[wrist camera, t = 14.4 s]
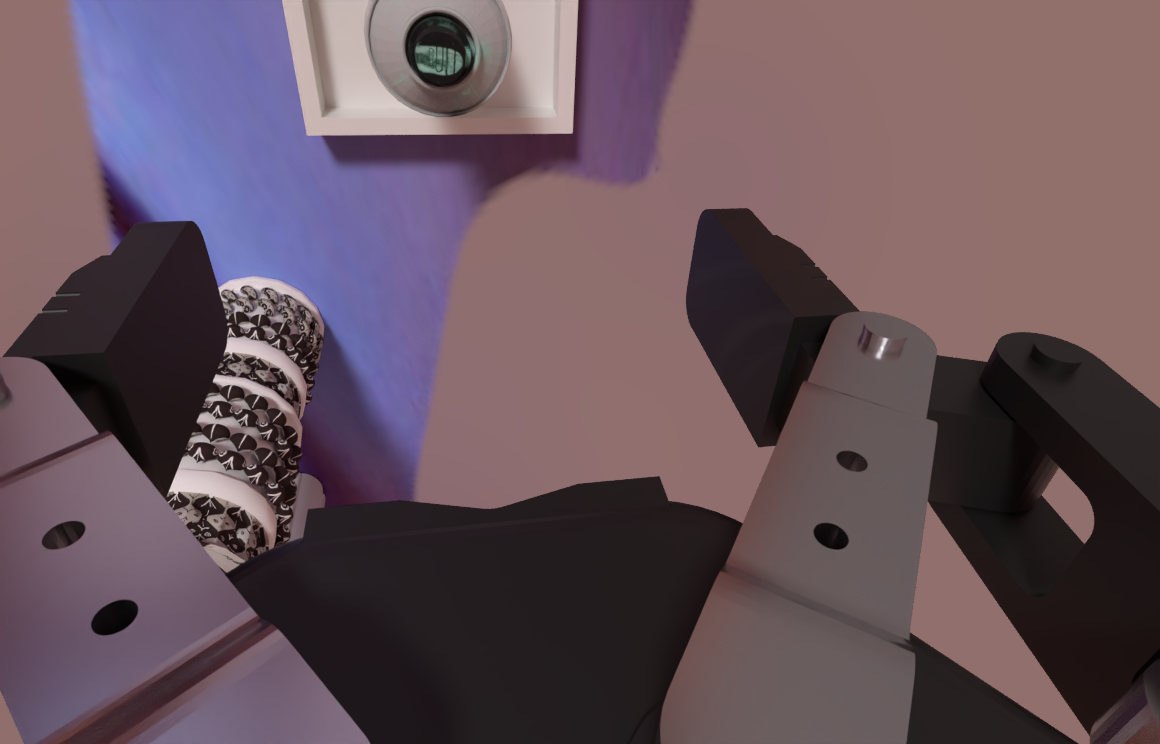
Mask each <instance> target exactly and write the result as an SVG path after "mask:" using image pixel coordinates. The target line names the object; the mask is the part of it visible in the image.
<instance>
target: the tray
mask: <svg viewBox="0 0 1160 744" xmlns="http://www.w3.org/2000/svg"><path fill="white" fill-rule="evenodd" d="M368 1H369V0H282V2H283V8H284V13H285V19H286V24H287V29H288V35H289V40H290V46H291V51H292V57H293V62H294V68H295V73H296V78H297V84H298V89H299V95H300V100H301V106H302V111H303V116H304V122H305V127H306V133H307V136H312V135H448V134H573V114H574V90H575V66H576V42H577V18H578V0H502V2H503V4H504V6H505V9H506V12H507V14H508V17H509V21H510V26H511V32H512V51H511V58H510V63H509V68H508V71H507V73H506V76H505V78H504V81H503V82H502V84H501V86H500V87H499V89H498V90H497V92H496V93H495V94H494V95H493V96H492V97H491V98H490V99H489V100H488V101H487V102H486V103H485V104H483V105H482V106H480V107H479V108H477V109H476V110H474V111H471V112H469V113H466V114H464V115H459V116H454V117H435V116H430V115H425V114H422V113H420V112H417V111H415V110H412V109H410V108H409V107H407V106H406V105H404V104H402V103H401V102H399V101H398V100H397V99H396V98H395V97H394V96H393V95H392V94H391V93H389V92H388V90H387V89H386V88H385V87H384V85H383V84H382V83H381V81H380V80H379V78H378V76H377V74H376V73H375V71H374V69H373V67H372V64H371V62H370V59H369V55H368V52H367V49H366V45H365V36H364V21H365V12H366V9H367V5H368Z"/></svg>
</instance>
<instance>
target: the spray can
mask: <svg viewBox="0 0 1160 744" xmlns="http://www.w3.org/2000/svg"><path fill="white" fill-rule="evenodd" d="M364 36H365V45H366V49H367V52H368V55H369V59H370V62H371V64H372V67H373V69H374V71H375V73H376V74H377V76H378V78H379V80H380V81H381V83H382V84H383V85H384V87H385V88H386V89H387V90H388V92H389V93H391V94H392V95H393V96H394V97H395V98H396V99H397V100H398V101H399V102H401V103H402V104H404V105H406V106H407V107H409V108H410V109H412V110H415V111H417V112H420V113H422V114H425V115H430V116H435V117H454V116H459V115H464V114H466V113H469V112H471V111H474V110H476V109H477V108H479V107H480V106H482V105H483V104H485V103H486V102H487V101H488V100H489V99H490V98H491V97H492V96H493V95H494V94H495V93H496V92H497V90H498V89H499V87H500V86H501V84H502V82H503V81H504V78H505V76H506V73H507V71H508V68H509V63H510V58H511V51H512V32H511V26H510V21H509V17H508V14H507V12H506V9H505V6H504V4H503V2H502V0H369V1H368V5H367V9H366V12H365V21H364Z"/></svg>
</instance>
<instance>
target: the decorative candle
mask: <svg viewBox="0 0 1160 744" xmlns="http://www.w3.org/2000/svg"><path fill="white" fill-rule="evenodd" d="M218 289H219V292H220V296H221V299H222V302H223V306H224V309H225V313H226V318H227V328H228V339H227V346H226V350H225V352H224V355H223V357H222V360H221V362H220V365H219V367H218V370H217V372H216V375H215V377H214V380H213V382H212V385H211V387H210V390H209V392H208V395H207V397H206V400H205V402H204V405H203V407H202V410H201V412H200V415H199V417H198V420H197V422H196V425H195V427H194V430H193V432H192V435H191V437H190V440H189V442H188V445H187V447H186V450H185V452H184V455H183V457H182V460H181V462H180V465H179V467H178V470H177V472H176V475H175V477H174V480H173V482H172V485H171V487H170V490H169V492H168V495H167V497H163V498H164V499H165V500H166V501H167V503H168V504H169V505H170V506H171V508H172V509H173V510H174V511H175V513H176V514H177V515H178V516H179V518H180V519H181V520H182V521H183V523H184V524H185V525H186V526H187V528H188V529H189V530H190V531H191V533H192V534H193V535H194V536H195V538H196V539H197V540H198V541H199V543H200V544H201V545H202V547H203V548H204V549H205V550H206V552H207V553H208V554H209V555H210V557H211V558H212V559H213V560H214V562H215V563H216V564H217V565H218V567H219V568H220V569H221V570H222V572H223V573H224V574H226V573H227V572H229V571H230V570H232V569H234V568H235V567H237V566H239V565H240V564H242V563H244V562H245V561H247V560H249V559H251V558H253V557H255V556H257V555H259V554H261V553H263V552H265V551H267V550H269V549H272V548H274V547H277V546H279V545H282V544H284V543H286V542H288V541H289V539H290V537H291V533H290V530H289V528H288V527H287V526H286V525H288V524H289V523H290V522H291V521H292V519H293V510H292V509H291V508H290V506H292V505H293V504H294V502H295V500H296V491H297V485H296V483H295V482H294V481H293V480H294V479H295V478H297V476H298V474H299V465H298V462H299V461H300V460H301V457H302V450H301V438H302V425H301V423H300V421H299V420H300V419H301V418H302V416H303V412H304V408H305V405H307V404H308V403H309V402H310V401H311V400H312V394H311V393H310V392H309V391H310V390H311V389H312V388H313V387H314V385H315V381H314V378H313V376H315V375H316V373H317V372H318V369H319V364H318V361H319V360H320V358H321V348H322V346H323V335H324V323H323V320H322V318H321V315H320V313H319V310H318V308H317V306H316V305H315V304H314V303H313V302H312V301H311V300H310V299H309V298H308V297H307V296H306V295H305V294H304V293H303V292H302V291H301V290H299V289H297V288H295V287H293V286H291V285H289V284H287V283H285V282H283V281H281V280H277V279H271V278H265V277H259V276H250V277H244V278H238V279H233V280H229V281H228V282H226V283H225V284H223V285H221V286H220V287H218ZM276 514H277V516H278V520H277V517H276Z"/></svg>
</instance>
